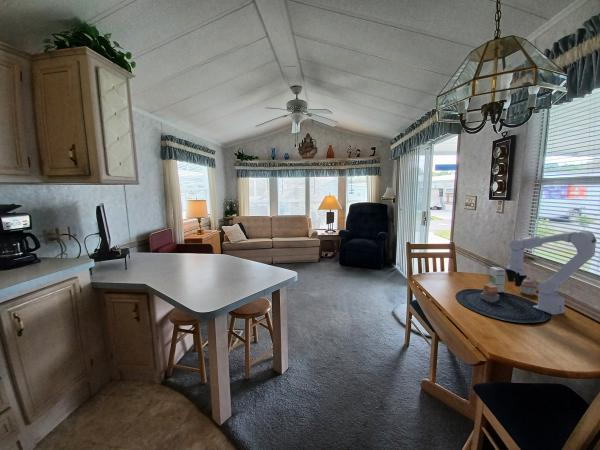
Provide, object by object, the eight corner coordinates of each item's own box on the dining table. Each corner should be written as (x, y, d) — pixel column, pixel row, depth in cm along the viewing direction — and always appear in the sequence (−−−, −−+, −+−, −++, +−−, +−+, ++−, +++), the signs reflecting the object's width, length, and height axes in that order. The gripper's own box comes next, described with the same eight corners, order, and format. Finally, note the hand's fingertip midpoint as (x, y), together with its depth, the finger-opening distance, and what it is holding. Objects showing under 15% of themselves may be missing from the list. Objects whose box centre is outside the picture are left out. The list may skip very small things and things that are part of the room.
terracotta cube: (497, 295, 145) (497, 286, 145) (489, 295, 145) (490, 287, 144) (490, 292, 150) (490, 284, 149) (483, 292, 149) (483, 284, 148)
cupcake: (513, 290, 159) (514, 275, 158) (528, 290, 159) (530, 275, 158) (525, 296, 150) (527, 280, 149) (542, 296, 150) (544, 280, 148)
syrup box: (504, 292, 157) (506, 269, 155) (494, 292, 157) (496, 269, 155) (497, 288, 163) (499, 266, 161) (487, 288, 163) (489, 266, 161)
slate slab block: (498, 300, 146) (499, 295, 145) (492, 303, 143) (492, 297, 143) (486, 296, 152) (487, 291, 151) (480, 298, 149) (480, 293, 149)
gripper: (501, 256, 152) (499, 279, 153) (514, 263, 138) (512, 287, 139) (515, 257, 150) (513, 279, 151) (530, 264, 136) (528, 288, 138)
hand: (514, 283), depth 145 cm, fingers open, 7 cm apart
